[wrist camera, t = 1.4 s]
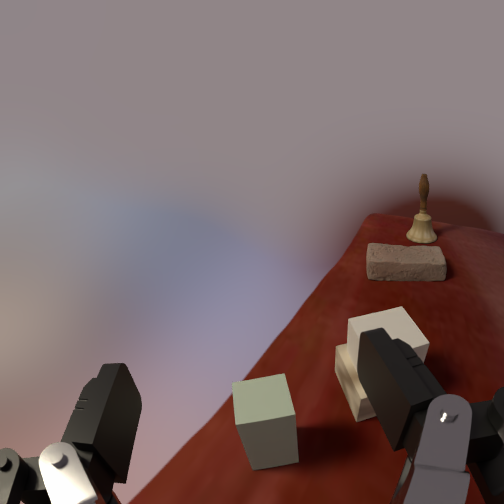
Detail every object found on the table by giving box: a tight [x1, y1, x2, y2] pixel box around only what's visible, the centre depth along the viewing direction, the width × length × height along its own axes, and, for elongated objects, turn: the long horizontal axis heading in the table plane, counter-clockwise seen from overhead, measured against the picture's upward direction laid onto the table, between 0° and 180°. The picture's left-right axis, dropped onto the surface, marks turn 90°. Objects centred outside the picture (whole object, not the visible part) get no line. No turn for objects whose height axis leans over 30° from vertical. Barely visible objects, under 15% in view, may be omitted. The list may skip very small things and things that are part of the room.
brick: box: [366, 243, 447, 281], centre depth 57 cm, size 16×8×5 cm, turn 71°
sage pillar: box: [232, 374, 299, 470], centre depth 28 cm, size 5×5×10 cm
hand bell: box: [406, 174, 437, 243], centre depth 67 cm, size 8×8×16 cm
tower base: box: [335, 344, 377, 422], centre depth 34 cm, size 9×9×5 cm
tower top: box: [347, 306, 429, 374], centre depth 32 cm, size 7×7×5 cm
